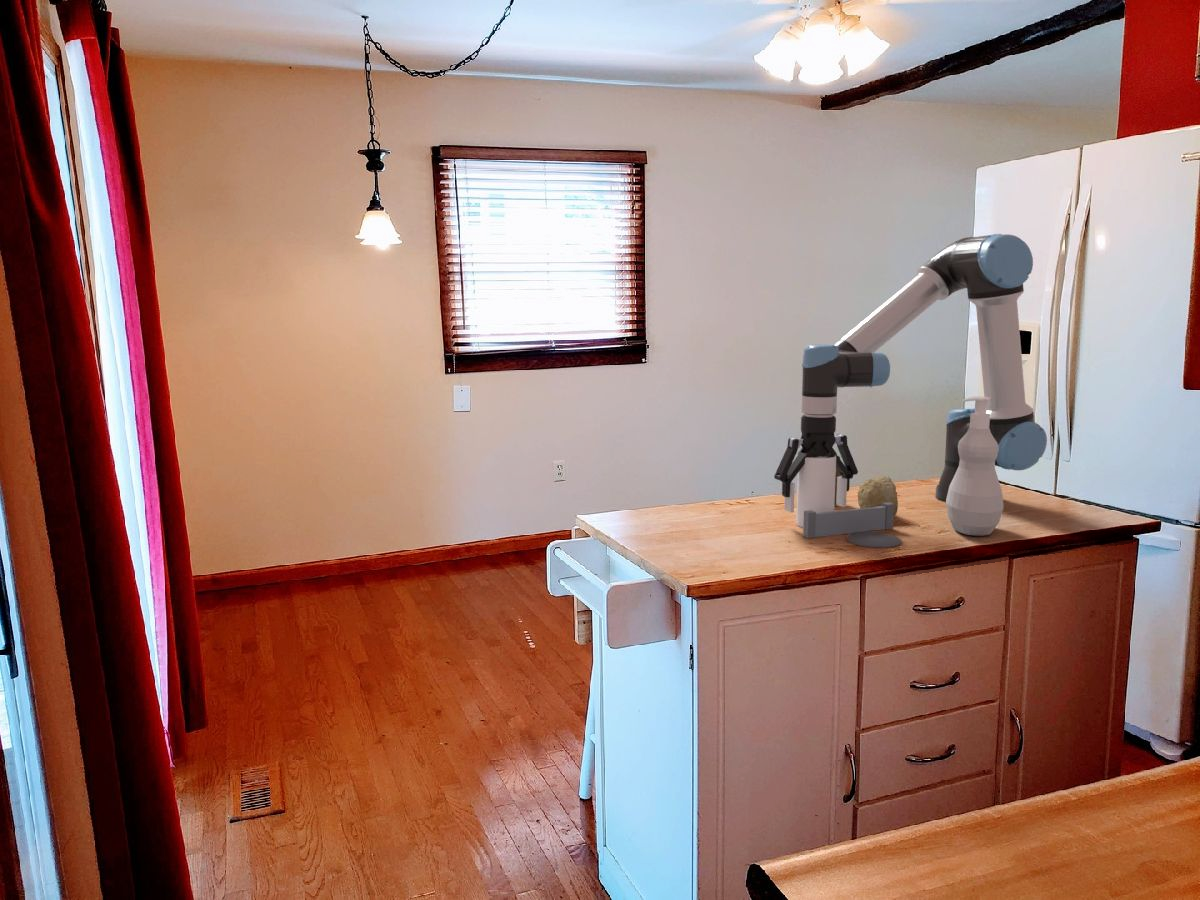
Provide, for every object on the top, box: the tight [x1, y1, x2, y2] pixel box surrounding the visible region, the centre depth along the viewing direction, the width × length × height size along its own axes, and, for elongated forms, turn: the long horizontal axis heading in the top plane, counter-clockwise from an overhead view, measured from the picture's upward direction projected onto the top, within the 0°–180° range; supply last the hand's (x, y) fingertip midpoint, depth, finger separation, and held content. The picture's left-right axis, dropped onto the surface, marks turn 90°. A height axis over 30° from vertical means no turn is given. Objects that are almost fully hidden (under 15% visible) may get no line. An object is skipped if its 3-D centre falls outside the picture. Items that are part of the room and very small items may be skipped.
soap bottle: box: [945, 396, 1005, 537], centre depth 193 cm, size 17×12×29 cm
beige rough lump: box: [857, 476, 899, 517], centre depth 209 cm, size 10×10×10 cm
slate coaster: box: [846, 531, 902, 549], centre depth 188 cm, size 11×11×1 cm
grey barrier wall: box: [802, 502, 894, 539], centre depth 194 cm, size 22×2×6 cm, turn 110°
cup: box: [795, 453, 836, 528], centre depth 200 cm, size 8×8×16 cm
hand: (815, 508), depth 201 cm, fingers open, 13 cm apart
